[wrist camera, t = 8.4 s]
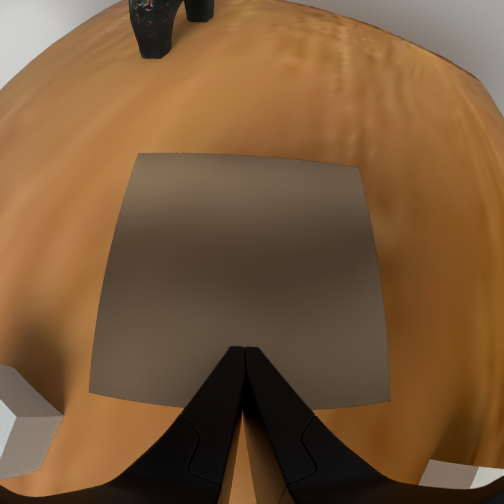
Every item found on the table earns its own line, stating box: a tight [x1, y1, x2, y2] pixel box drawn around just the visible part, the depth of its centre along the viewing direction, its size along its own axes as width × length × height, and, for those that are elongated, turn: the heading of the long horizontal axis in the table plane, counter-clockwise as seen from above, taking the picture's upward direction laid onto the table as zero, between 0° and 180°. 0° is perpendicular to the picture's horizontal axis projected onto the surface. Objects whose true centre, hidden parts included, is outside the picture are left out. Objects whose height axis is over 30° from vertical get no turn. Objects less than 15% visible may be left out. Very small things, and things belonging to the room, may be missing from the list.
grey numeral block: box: [0, 364, 64, 480], centre depth 10 cm, size 5×5×5 cm
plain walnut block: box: [89, 153, 390, 411], centre depth 14 cm, size 10×10×8 cm
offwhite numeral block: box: [418, 459, 504, 489], centre depth 10 cm, size 5×5×5 cm
